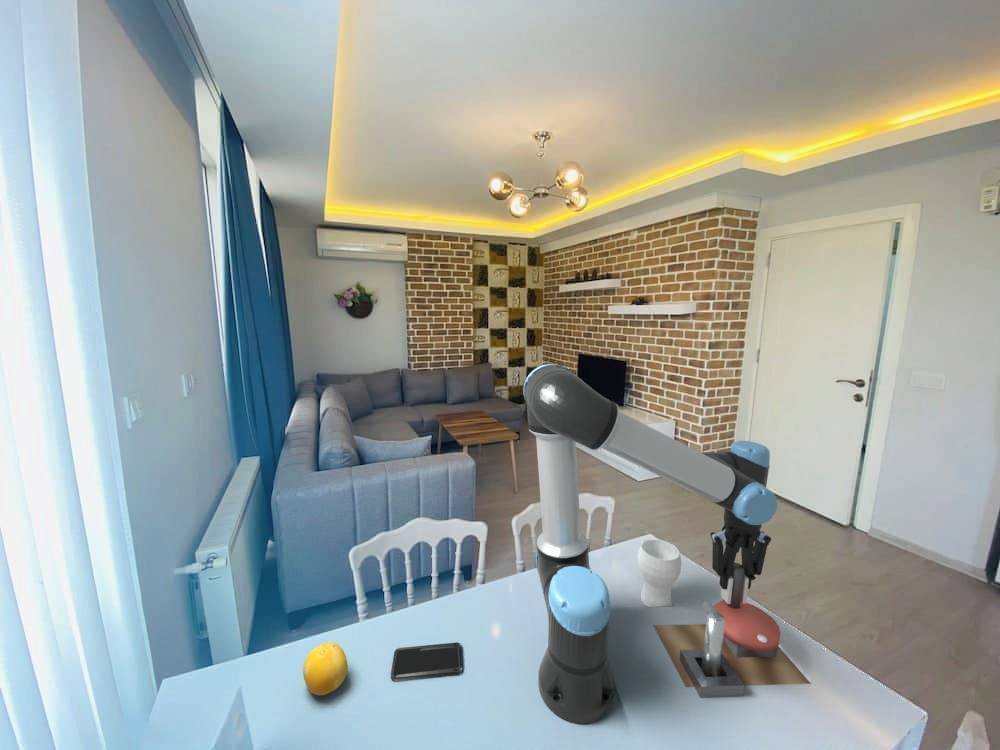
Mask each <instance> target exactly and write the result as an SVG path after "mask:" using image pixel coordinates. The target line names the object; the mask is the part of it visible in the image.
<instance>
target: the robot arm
mask: <svg viewBox="0 0 1000 750" xmlns="http://www.w3.org/2000/svg"><path fill="white" fill-rule="evenodd" d="M522 390H523V398H524V400H525V402H526V411H527V422H528V431H529V432H530V433H531V434H533V435H534V436H535V437H536V438H535V441H536V452H537V453H536V456H537V467H538V469H537V470H538V484H539V497H540V509H541V510H540V511H541V512H540V513H541V524H542V525H541V526H542V533H540V534H539V536H538V537H537V539H536V546H537V547H536V554H535V565H536V570H537V573H538V577H539V581H540V584H541V589H542V593H543V598H544V602H545V606H546V611H547V616H548V617H547V619H548V632H547V633H548V635H547V648H546V651H545V653H544V655H543V657H542V660H541V662H540V665H539V669H538V679H537V681H538V683H537V684H538V692H539V694H540V696H541V699H542V701H543V702H544V704H545V705H546V707H548V709H549V710H550V711H551V712H553V714H554V715H557V716H558V717H559V718H561V719H562V720H565V721H568V722H571V723H575V724H581V725H582V724H592V723H594V722H598V721H600V720H601V719H602V718H604V717H606V715H607V714H608V713H609V712H610V710H611V709H612V705H613V702H614V693H615V691H614V690H615V687H614V686H615V685H614V679H613V676H612V671H611V668H610V666H609V663H608V658H607V656H608V653H607V652H608V640H609V639H608V638H609V624H610V623H609V621H610V616H611V602H610V601H611V599H610V592H609V589H608V587H607V585H606V582H605V581H604V580H603V579H602V577H601V576H600V575H599V574H597V573H596V572H595V573H593V571H592V570H591V566H590V557H589V541H588V538H587V536H586V535H585V534H584V533H583V532H581V515H580V495H579V477H578V476H579V475H578V474H579V473H578V460H577V459H578V458H577V457H578V456H577V444H579V445H581V446H584V447H586V448H588V449H590V450H592V451H597V450H600V449H603V450H605V451H607V452H609V453H611V454H613V455H615V456H617V457H619V458H621V459H623V460H626V461H628V462H629V463H632V464H634V465H636V466H637V467H640V468H642V469H644V470H646V471H648V472H650V473H652V474H654V475H656V476H659V477H661V479H662V478H663V479H665V480H667V481H669V482H671V483H673V484H675V485H677V486H679V487H681V488H684V489H685V490H688V491H689V492H692V493H694V494H695V495H697V496H699V497H702V498H704V499H706V500H707V501H710V502H712V503H714V504H715V505H717V506H719V507H721V508H724V511H723V521H724V523H723V526H722V528H721V531H719V532H716V533H715V531H712V532H710V534H709V535H710V539H711V540H712V557H711V558H712V561H711V562H712V563H711V564H712V567H711V568H712V569H713V571H714V572H715V574H716V575H717V576H718V577H719V586H720V587H721V592H720V597H721V598H722V599H723V600H725V602H726V603H727V604H731V595H732V586H733V578H732V577H731V576H730V575H731V572H732V568H733V565H734V562H735V560H736V557H737V553H740V551H741V565H742V566H743V567H744V576H743V585H742V593H741V602H742V603H743V604H746V603H747V598H748V590H750V589H751V586H752V581H754V580H756V578H757V577H756V576H755V575H757V576H761V575H762V573H763V572H762V571H763V567H764V562H765V558H766V554H767V549H768V546H769V544H770V542H772V538H771V536H769V535H768V534H767V533H765V532H764V531H762V530H761V528H762V525H764V524H766V523H768V522H769V521H771V519H772V518H773V517H774V516H775V513H776V512H777V509H778V501H777V498H776V495H775V494H774V492H772V491H771V490H769V488H767V484H768V477H769V471H770V467H771V466H770V461H771V460H770V458H771V457H770V450H769V448H768V447H767V446H765V445H763V444H761V443H758V442H756V441H755V442H753V441H751V440H750V441H749V440H736V441H734V442H732V443H731V445H730V446H731V447H730V450H729V451H723V452H719V451H717V452H716V451H715V452H714V451H711V452H709V451H707V452H706V451H704V452H701V451H698V450H696V449H695V448H692V447H690V446H688V445H687V444H684V443H683V442H680V441H679V440H676V439H675V438H672V437H670V436H669V435H666V434H664V432H661V431H659V430H656V429H655V428H653V427H650V426H648V425H647V424H645V423H643V422H642V421H639V420H638V419H635V418H633V417H631V416H630V415H627V414H625V413H624V412H622V411H620V408H619V405H618V404H617V403H616V402H614V401H612V400H609V399H608V398H606V397H604V396H603V395H602V394H600V393H598V392H597V391H596V390H594V389H593V388H592V387H591V386H590V385H588V384H587V383H586V382H584V380H582V379H581V378H580V377H578V376H577V375H576V374H574V373H573V372H572V371H571V370H570V369H569V368H567V367H566V366H563V365H560V364H554V363H547V364H543V365H540V366H537V367H536V368H535V369H533V370H532V371H531V372H530V373H529V374H528V376H527V377H526V379H525V381H524V385H523V389H522ZM724 539H725V540H724ZM724 544H725V548H724ZM740 549H741V550H740Z"/></svg>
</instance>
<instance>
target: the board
mask: <svg viewBox="0 0 1000 750" xmlns="http://www.w3.org/2000/svg"><path fill="white" fill-rule="evenodd" d="M653 627H654V630H655V631H656V633H657V635H658V638H659V639H660V641H661V643H662V645H663V647H664V649H665V650H666V652H667V654H668V657H669V658H670V660H671V662H672V664H673V665H674V667H675V670H676V671H677V673H678V675H679V677H680V678H681V679H680V680H682V683H683V684H684V686H685V688H695V687H694V686H693V684H692V682H691V680H690V678H689V676H688V675H687V673H686V671H685V669H684V667H683V666H682V664H681V662H680V660H679V658H680V650H689V649H704V640H705V630H706V623H701V624H700V623H698V624H697V623H696V624H694V623H693V624H662V625H661V624H655V625H654V624H653ZM722 654H723V655H724V657H725V658H726V659H727V661H728V662H729V664H730V665H731V667H732V668H733V670H734V671H735V673H736V674H737V676H738V677H739V678H740V680H741V681H742V683H743V684H744V686H775V685H776V686H777V685H778V686H779V685H809V684H810V685H811V682H810V681H809V680H808V678H807V677H806V676H805V674H804V673H803V672H802V671H801V670H800V669H799V668H798V667H797V665H795V663H794V662H793V661H792V660H791V659H790V657H789V656H788V655H787V653H785V651H784V650H783V649H782V648H781V647H780V646H779V645H778V646H777V648H775V649H774V650H771V651H766V652H761V651H754V650H750V649H747V648H744V647H742V646H739V645H737V644H735V643H734V642H732V641H730V640H729V639H728V638H726V637H725V636H724V635H723V643H722ZM700 668H701V669H702V667H700ZM719 677H720V675H719Z"/></svg>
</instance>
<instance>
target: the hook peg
mask: <svg viewBox="0 0 1000 750" xmlns="http://www.w3.org/2000/svg"><path fill="white" fill-rule="evenodd" d="M702 606H703V610H704V611H705V612H706V620H705V621H706V622H705V624H706V630H705V640H704V649H703V659H702V669H701V670H702V672H703V673H704V675H705V677H719V670H720V661H721V652H722V643H723V634H724V625H725V618H724V617H723V616H722V615H721V614H720V613H719V612H718V611H717V610H716V608H715V605H714V604H713V602H711V601H704V602H703V605H702Z"/></svg>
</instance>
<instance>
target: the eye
mask: <svg viewBox="0 0 1000 750" xmlns="http://www.w3.org/2000/svg"><path fill="white" fill-rule="evenodd" d="M702 659H703V649H689V650H680V658H679V660H680V662H681V664H682V666H683V667H684V669H685V671H686V673H687V675H688V676H689V678H690V680H691V682H692V684H693V686H694V687H693V688H694V689H695V691H696V692H697V695H698V697H699V698H727V697H728V698H729V697H743V696H744V690H745V685H744V684H743V683H742V681H741V680H740V678H739V677H738V676H737V674H736V673H735V671H734V670H733V668H732V667H731V665H730V664H729V662H728V661H727V659H726V658H725V657H724V655H723V654H722V652H721V661H720V670H719V675H720V677H705V675H704V673H703V672H702V670H701V668H700V667H702Z"/></svg>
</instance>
